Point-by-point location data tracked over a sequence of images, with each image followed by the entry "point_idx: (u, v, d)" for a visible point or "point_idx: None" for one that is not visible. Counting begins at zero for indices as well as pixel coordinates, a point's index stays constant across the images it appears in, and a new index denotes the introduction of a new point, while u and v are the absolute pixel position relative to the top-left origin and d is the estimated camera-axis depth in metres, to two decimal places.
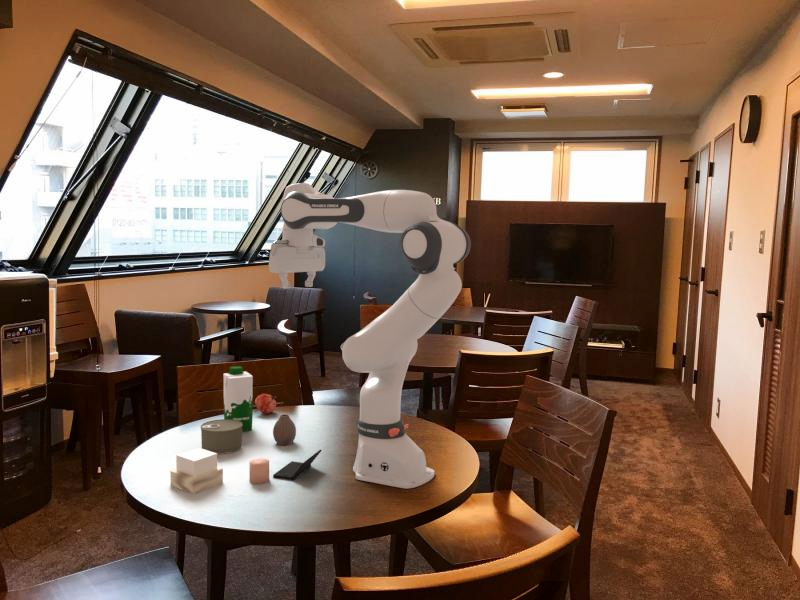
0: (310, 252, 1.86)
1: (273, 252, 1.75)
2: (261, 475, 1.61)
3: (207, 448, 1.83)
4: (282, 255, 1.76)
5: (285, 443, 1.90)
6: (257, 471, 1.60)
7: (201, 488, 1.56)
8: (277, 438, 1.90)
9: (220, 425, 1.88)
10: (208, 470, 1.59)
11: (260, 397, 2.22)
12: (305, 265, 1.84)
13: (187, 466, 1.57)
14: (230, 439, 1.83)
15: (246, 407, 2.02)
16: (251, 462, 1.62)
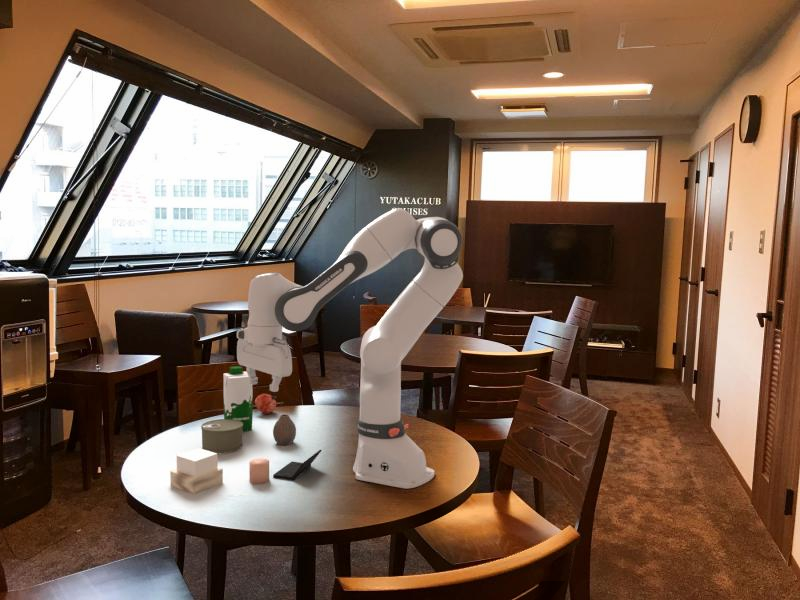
0: None
1: None
2: (261, 475, 1.61)
3: (208, 448, 1.83)
4: None
5: (285, 443, 1.90)
6: (257, 471, 1.60)
7: (201, 488, 1.56)
8: (277, 438, 1.90)
9: (221, 425, 1.89)
10: (208, 470, 1.59)
11: (260, 397, 2.22)
12: None
13: (187, 466, 1.57)
14: (231, 439, 1.83)
15: (246, 407, 2.02)
16: (251, 462, 1.62)
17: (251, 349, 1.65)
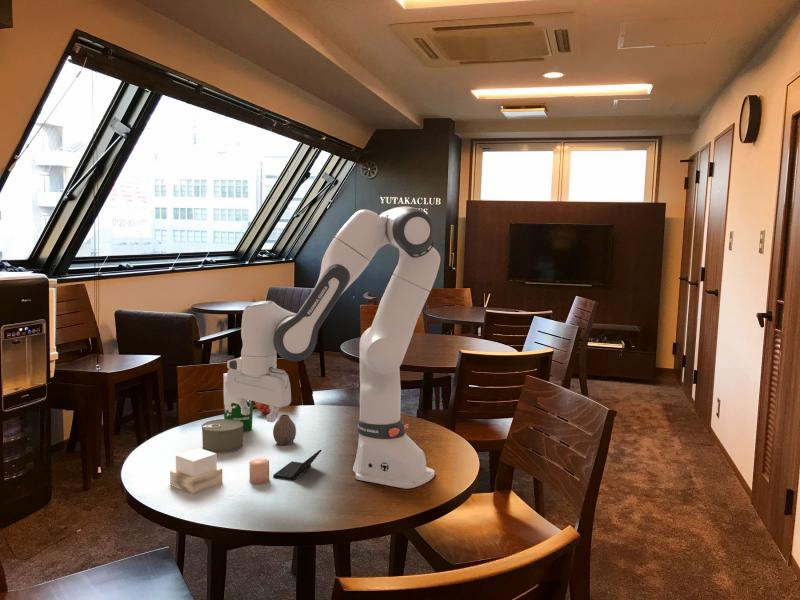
0: None
1: None
2: (261, 475, 1.61)
3: (208, 448, 1.83)
4: None
5: (285, 443, 1.90)
6: (257, 471, 1.60)
7: (201, 488, 1.56)
8: (277, 438, 1.90)
9: (221, 425, 1.89)
10: (207, 470, 1.59)
11: None
12: None
13: (186, 466, 1.56)
14: (231, 439, 1.84)
15: None
16: (251, 462, 1.62)
17: (244, 379, 1.61)
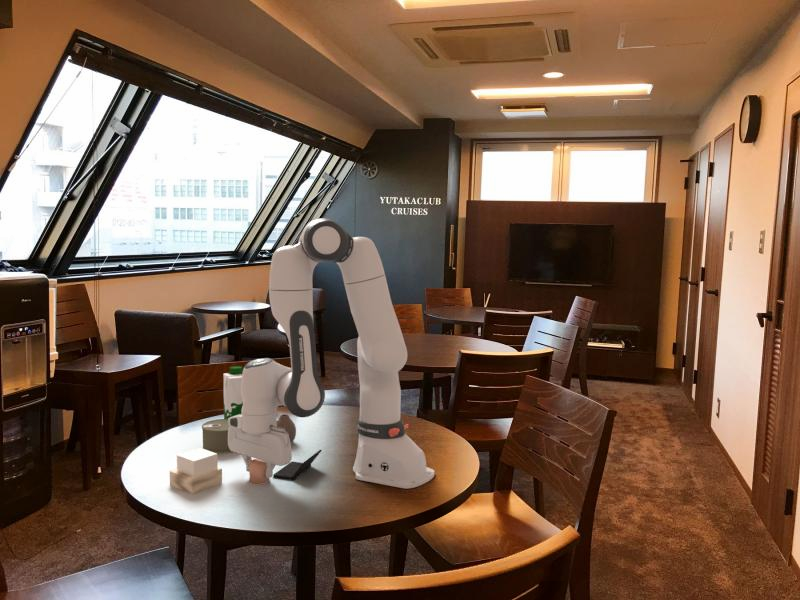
0: None
1: None
2: (261, 475, 1.61)
3: (208, 447, 1.83)
4: None
5: None
6: (257, 471, 1.60)
7: (200, 488, 1.56)
8: None
9: (221, 425, 1.89)
10: (208, 470, 1.58)
11: None
12: None
13: (187, 466, 1.56)
14: None
15: None
16: (251, 462, 1.62)
17: (245, 436, 1.63)
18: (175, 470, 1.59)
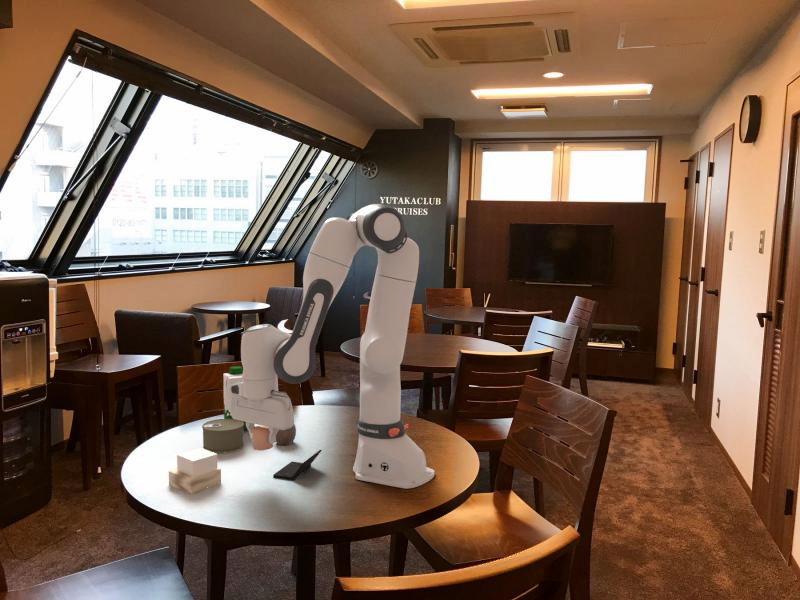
0: None
1: None
2: (264, 440, 1.60)
3: (209, 447, 1.83)
4: None
5: (285, 443, 1.90)
6: (260, 437, 1.60)
7: (199, 488, 1.56)
8: (277, 438, 1.90)
9: (222, 424, 1.89)
10: (208, 470, 1.58)
11: None
12: None
13: (186, 466, 1.57)
14: (232, 439, 1.84)
15: None
16: (254, 428, 1.61)
17: (246, 403, 1.62)
18: (174, 470, 1.59)
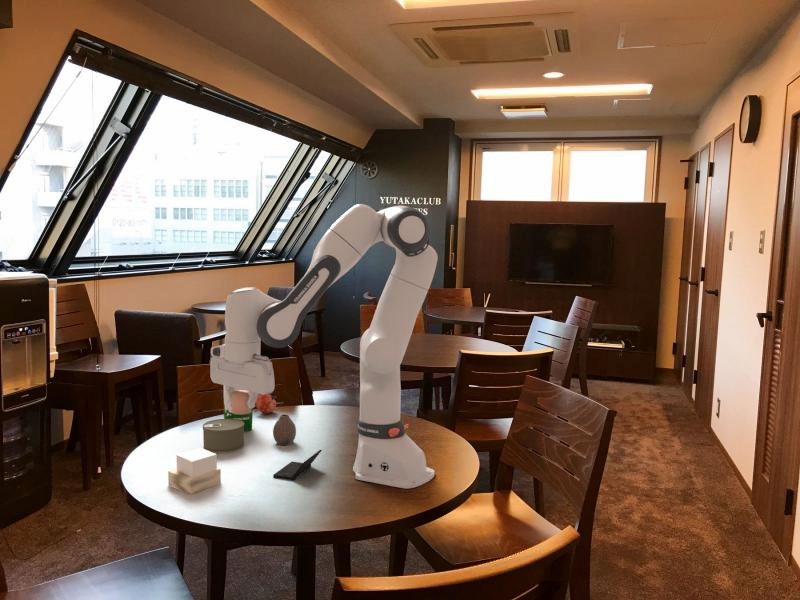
0: None
1: None
2: (243, 405, 1.58)
3: (209, 447, 1.84)
4: None
5: (285, 443, 1.90)
6: (239, 401, 1.57)
7: (199, 488, 1.56)
8: (277, 438, 1.90)
9: (222, 424, 1.89)
10: (207, 471, 1.58)
11: (260, 397, 2.22)
12: None
13: (186, 466, 1.56)
14: (232, 439, 1.84)
15: None
16: (233, 392, 1.59)
17: (227, 366, 1.60)
18: (174, 470, 1.59)
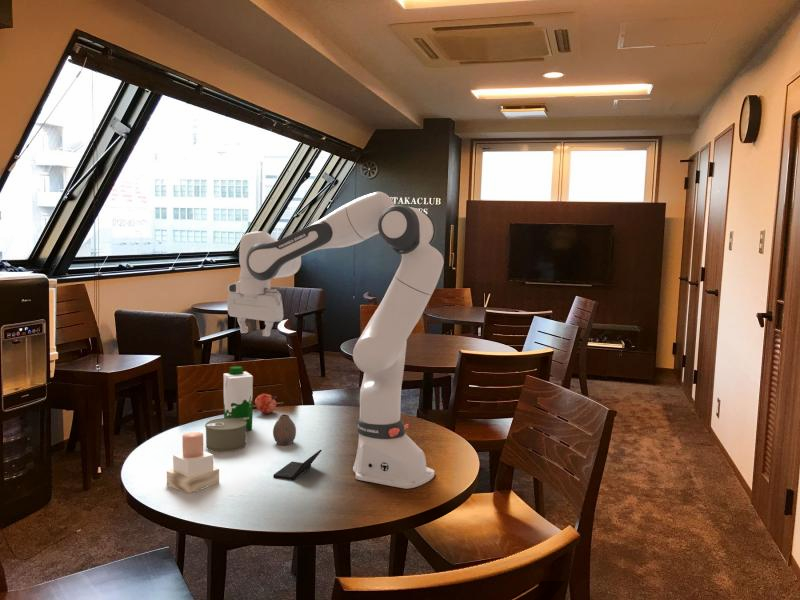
0: None
1: None
2: (193, 448, 1.57)
3: (211, 446, 1.85)
4: None
5: (285, 443, 1.90)
6: (188, 444, 1.57)
7: (197, 488, 1.56)
8: (277, 438, 1.90)
9: (224, 423, 1.90)
10: (203, 471, 1.58)
11: (260, 397, 2.22)
12: None
13: (182, 467, 1.56)
14: (234, 437, 1.85)
15: (246, 407, 2.02)
16: (184, 435, 1.59)
17: (242, 301, 1.85)
18: (172, 470, 1.59)
